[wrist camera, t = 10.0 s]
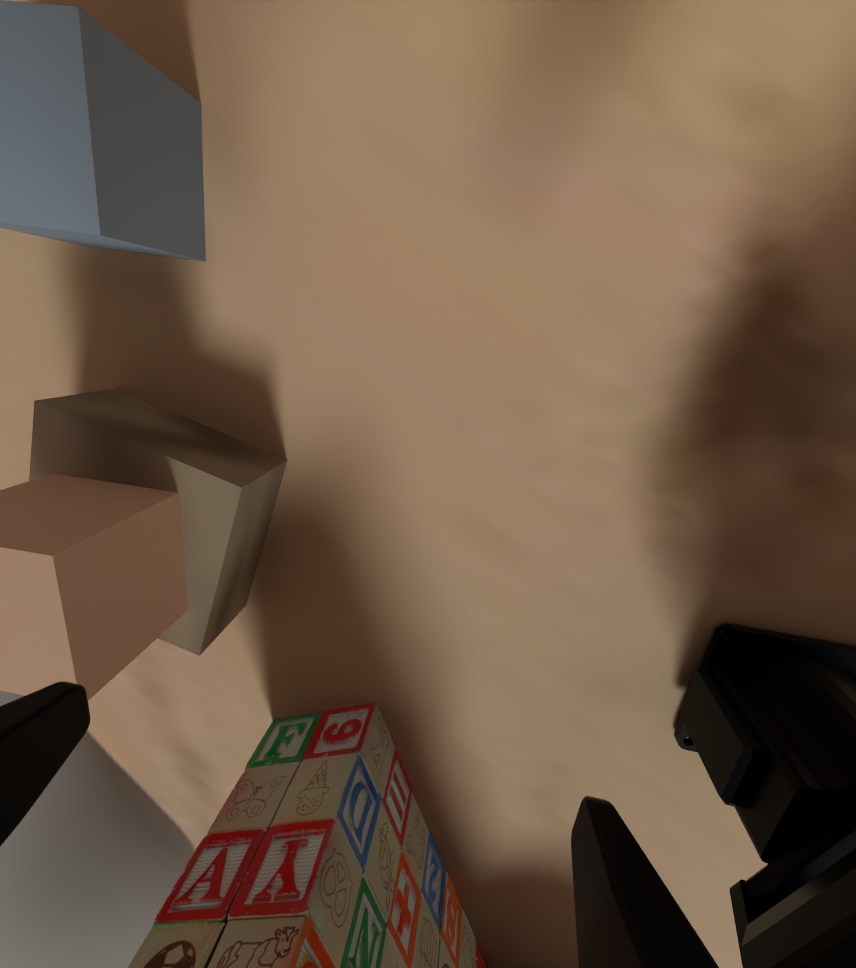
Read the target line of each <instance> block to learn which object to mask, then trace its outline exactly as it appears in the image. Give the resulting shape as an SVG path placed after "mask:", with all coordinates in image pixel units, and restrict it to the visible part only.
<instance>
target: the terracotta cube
mask: <svg viewBox="0 0 856 968" xmlns="http://www.w3.org/2000/svg"><path fill="white" fill-rule="evenodd" d="M187 611H188V602H187V590H186V578H185V566H184V554H183V542H182V530H181V519H180V507H179V495H178V493H177V492H171V491H164V490H158V489H151V488H145V487H138V486H132V485H125V484H119V483H112V482H105V481H99V480H92V479H85V478H79V477H72V476H65V475H59V474H51V475H48V476H44V477H41V478H38V479H35V480H32V481H29V482H25V483H22V484H19V485H16V486H13V487H10V488H7V489H3V490H0V691H5V692H10V693H15V694H19V695H24V696H26V695H28V694H31V693H33V692H35V691H38V690H40V689H42V688H45V687H47V686H49V685H52V684H54V683H57V682H61V681H65V682H71V683H75V684H80V685H82V686H83V687H84V688H85V689H86V693H87V700H89V699H90V698H92V697H93V696H94V695H95V694H96V693H97V692H98V691H99V690H100V689H102V688H103V687H104V686H105V685H106V684H107V683H108V682H109V681H110V680H111V679H113V678H114V677H115V676H116V675H117V674H118V673H119V672H120V671H121V670H123V669H124V668H125V667H126V666H127V665H128V664H129V663H130V662H131V661H132V660H134V659H135V658H136V657H137V656H138V655H139V654H140V653H141V652H142V651H144V650H145V649H146V648H147V647H148V646H149V645H150V644H151V643H152V642H153V641H155V640H156V639H157V638H158V637H159V636H160V635H161V634H162V633H163V632H165V631H166V630H167V629H168V628H169V627H170V626H171V625H172V624H173V623H174V622H176V621H177V620H178V619H179V618H180V617H181V616H182V615H183V614H184V613H186V612H187Z"/></svg>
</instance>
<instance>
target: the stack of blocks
mask: <svg viewBox="0 0 856 968" xmlns="http://www.w3.org/2000/svg"><path fill="white" fill-rule="evenodd" d="M412 792H413V791H412V788H411V785H410V783H409V780H408V778H407V776H406V773H405V771H404V768H403V766H402V764H401V761H400V759H399V756H398V754H397V752H396V749H395V747H394V743H393V741H392V739H391V736H390V734H389V731H388V729H387V727H386V724H385V722H384V719H383V717H382V715H381V712H380V710H379V708H378V706H377V704H375V703H373V704H367V705H361V706H355V707H349V708H343V709H337V710H331V711H325V712H323V713H317V714H311V715H305V716H298V717H292V718H286V719H279V720H274V721H273V722H272V723H271V725H270V727H269V728H268V730H267V732H266V733H265V735H264V736H263V738H262V740H261V741H260V743H259V745H258V746H257V748H256V750H255V751H254V753H253V755H252V757H251V758H250V760H249V762H248V763H247V765H246V768H245V772H244V773H243V774H242V776H241V777H240V779H239V781H238V782H237V784H236V786H235V787H234V789H233V791H232V792H231V794H230V796H229V797H228V799H227V801H226V802H225V804H224V806H223V807H222V809H221V811H220V812H219V814H218V816H217V818H216V819H215V821H214V823H213V825H212V826H211V828H210V830H209V832H208V835H207V836H205V837H204V838H203V840H202V841H201V843H200V844H199V846H198V847H197V849H196V851H195V852H194V854H193V856H192V858H191V859H190V860H189V862H188V864H187V866H186V868H185V870H184V872H183V873H182V875H181V876H180V878H179V880H178V881H177V883H176V884H175V885H174V887H173V889H172V892H171V894H170V895H169V897H168V898H167V899H166V901H165V903H164V904H163V906H162V908H161V909H160V911H159V913H158V914H157V917H156V919H155V922H154V925H153V926H152V928H151V930H150V932H149V934H148V935H147V937H146V938H145V940H144V942H143V944H142V945H141V947H140V948H139V950H138V952H137V953H136V955H135V957H134V958H133V960H132V961H131V963H130V965H129V966H128V968H487V967H486V964H485V962H484V960H483V958H482V955H481V953H480V951H479V948H478V947H477V944H476V939H475V936H474V934H473V931H472V929H471V926H470V924H469V922H468V919H467V917H466V915H465V912H464V910H463V909H462V907H461V903H460V900H459V898H458V895H457V893H456V891H455V888H454V886H453V883H452V881H451V879H450V876H449V874H448V872H447V871H445V867H444V865H443V862H442V860H441V858H440V856H439V853H438V851H437V849H436V846H435V844H434V841H433V839H432V836H431V834H430V833H429V832H428V828H427V826H426V823H425V821H424V819H423V816H422V814H421V812H420V809H419V807H418V805H417V802H416V800H415V798H414V795H413V794H412Z"/></svg>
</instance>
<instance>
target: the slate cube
mask: <svg viewBox="0 0 856 968" xmlns="http://www.w3.org/2000/svg"><path fill="white" fill-rule="evenodd" d="M0 228H4V229H9V230H14V231H18V232H23V233H28V234H32V235H37V236H41V237H46V238H51V239H55V240H60V241H65V242H69V243H74V244H79V245H83V246H89V247H97V248H105V249H112V250H120V251H128V252H135V253H143V254H151V255H159V256H166V257H174V258H182V259H189V260H197V261H205V262H206V257H205V224H204V190H203V156H202V123H201V103H200V102H199V101H198V100H196V99H195V98H194V97H193V96H191V95H190V94H189V93H188V92H186V91H185V90H184V89H182V88H181V87H180V86H179V85H177V84H176V83H175V82H174V81H172V80H171V79H170V78H168V77H167V76H166V75H165V74H163V73H162V72H161V71H160V70H158V69H157V68H156V67H154V66H153V65H152V64H151V63H149V62H148V61H147V60H146V59H144V58H143V57H142V56H140V55H139V54H138V53H137V52H135V51H134V50H133V49H132V48H130V47H129V46H128V45H127V44H125V43H124V42H123V41H121V40H120V39H119V38H118V37H116V36H115V35H114V34H113V33H111V32H110V31H109V30H107V29H106V28H105V27H104V26H102V25H101V24H100V23H99V22H97V21H96V20H95V19H93V18H92V17H91V16H90V15H88V14H87V13H86V12H85V11H83V10H82V9H81V8H79V7H78V6H66V5H53V4H40V3H27V2H15V1H2V0H0Z"/></svg>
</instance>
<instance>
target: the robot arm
mask: <svg viewBox="0 0 856 968" xmlns="http://www.w3.org/2000/svg"><path fill="white" fill-rule="evenodd" d="M728 635H733V636H732V637H731V638H729V639H725V638H726V636H728ZM89 724H90V712H89V706H88V700H87V693H86V689H85V688H84V687H83V686H82V685H80V684H75V683H71V682H65V681H61V682H57V683H54V684H52V685H49V686H47V687H45V688H42V689H40V690H38V691H35V692H33V693H31V694H28V695H26V696H24V697H21V698H19V699H17V700H14V701H12V702H10V703H7V704H5V705H2V706H0V846H1V845H2V843H4V841H5V840H6V839H7V838H8V836H9V835H10V834H11V833H12V831H13V830H14V829H15V828H16V827H17V825H18V824H19V823H20V822H21V820H22V819H23V818H24V816H25V815H26V814H27V812H28V811H29V810H30V808H31V807H32V806H33V804H34V803H35V802H36V800H37V799H38V798H39V796H40V795H41V793H42V792H43V791H44V789H45V788H46V787H47V785H48V784H49V782H50V781H51V780H52V778H53V777H54V776H55V774H56V773H57V771H58V770H59V769H60V767H61V766H62V765H63V763H64V762H65V761H66V759H67V758H68V756H69V755H70V754H71V752H72V751H73V750H74V748H75V747H76V745H77V744H78V742H79V741H80V740H81V738H82V737H83V736H84V734H85V733H86V731H87V729H88V727H89ZM674 736H675V738H676V741H677V743H678V745H679V746H680V747H681V748H682V749H685V750H689V751H694V752H698V754H699V756H700V758H701V760H702V762H703V764H704V766H705V768H706V770H707V772H708V774H709V776H710V778H711V780H712V782H713V784H714V786H715V789H716V791H717V793H718V795H719V796H720V798H721V799H722V800H723V802H724V803H725V804H727V805H731V806H734V807H735V809H736V811H737V813H738V815H739V817H740V819H741V821H742V823H743V825H744V827H745V829H746V831H747V833H748V834H749V836H750V838H751V840H752V842H753V844H754V846H755V848H756V850H757V852H758V854H759V856H760V858H761V860H762V861H763V862H765V863H768V865H766V866H765V867H764V868H762V869H761V870H760V871H758V872H757V873H756V874H754V875H753V876H752V877H750V878H749V879H748V880H746V881H745V880H742V879H741V880H740V881H739V882H737V883H736V884H735V885H733V886H732V887H731V888H730V896H731V901H732V907H733V913H734V919H735V925H736V930H737V936H738V942H739V948H740V954H741V959H742V965H743V968H856V646H851V645H845V644H840V643H834V642H829V641H823V640H818V639H812V638H807V637H801V636H795V635H790V634H784V633H779V632H773V631H768V630H762V629H757V628H751V627H746V626H740V625H734V624H723V625H720V626H719V627H717V628H716V630H715V631H714V633H713V636H712V638H711V641H710V643H709V646H708V648H707V651H706V653H705V656H704V658H703V661H702V663H701V666H700V667H699V668H698V669H697V670H696V672H695V675H694V677H693V680H692V682H691V685H690V687H689V690H688V693H687V695H686V698H685V700H684V703H683V705H682V708H681V710H680V719H679V722H678V724H677V727H676V729H675V732H674ZM687 737H689V738H687ZM571 850H572V867H573V883H574V900H575V916H576V932H577V948H578V961H579V968H719V967H718V965H717V964H716V962H715V961H714V959H713V958H712V956H711V955H710V953H709V952H708V950H707V948H706V947H705V945H704V944H703V942H702V941H701V939H700V938H699V936H698V935H697V933H696V932H695V930H694V929H693V927H692V926H691V924H690V922H689V921H688V919H687V918H686V916H685V915H684V913H683V912H682V910H681V909H680V907H679V906H678V904H677V903H676V901H675V899H674V898H673V896H672V895H671V893H670V892H669V890H668V889H667V887H666V886H665V884H664V883H663V881H662V880H661V878H660V877H659V875H658V873H657V872H656V870H655V869H654V867H653V866H652V864H651V863H650V861H649V860H648V858H647V857H646V855H645V854H644V852H643V850H642V849H641V847H640V846H639V844H638V843H637V841H636V840H635V838H634V837H633V835H632V834H631V832H630V831H629V829H628V828H627V826H626V824H625V823H624V821H623V820H622V818H621V817H620V815H619V814H618V812H617V811H616V809H615V808H614V806H613V805H612V804H611V803H610V802H609V801H607V800H603V799H599V798H594V797H590V796H586V797H584V798H583V800H582V802H581V805H580V808H579V811H578V814H577V817H576V820H575V823H574V826H573V829H572V836H571Z"/></svg>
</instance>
